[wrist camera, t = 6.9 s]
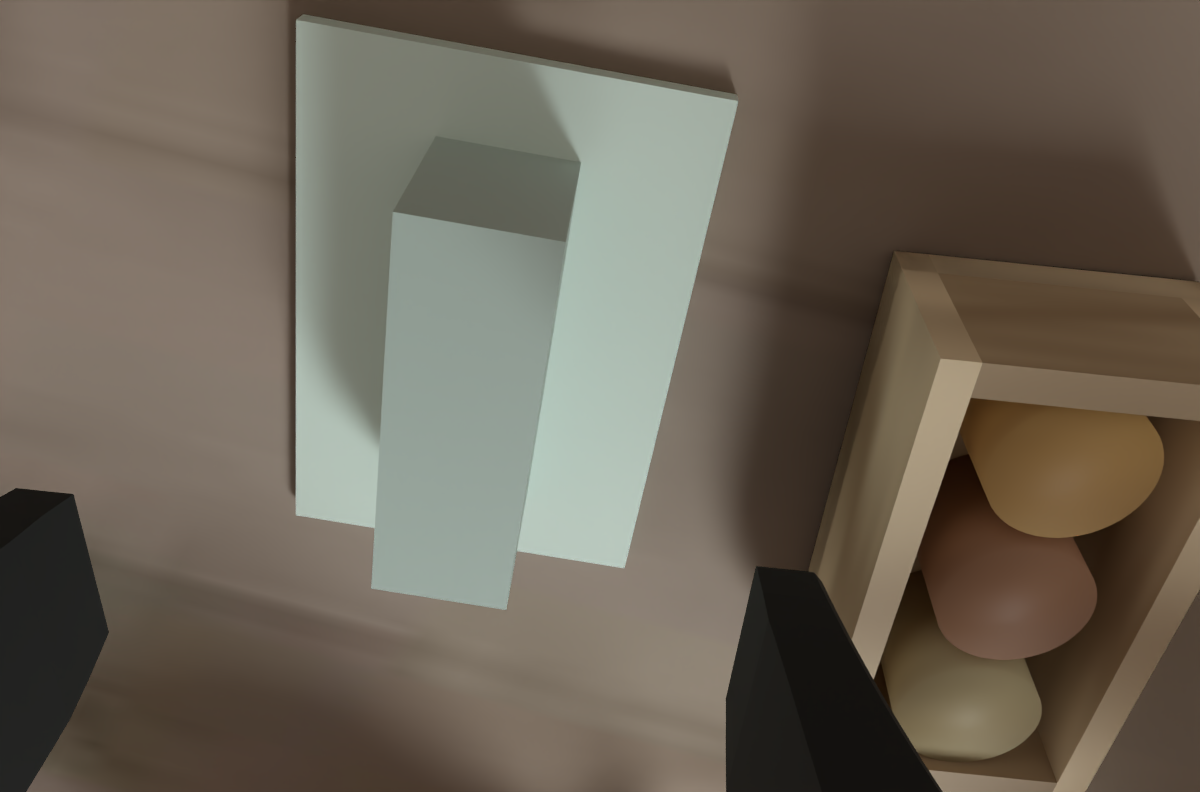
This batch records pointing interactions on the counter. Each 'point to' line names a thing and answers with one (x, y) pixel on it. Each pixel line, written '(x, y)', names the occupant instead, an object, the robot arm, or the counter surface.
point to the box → (1017, 510)
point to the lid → (487, 297)
